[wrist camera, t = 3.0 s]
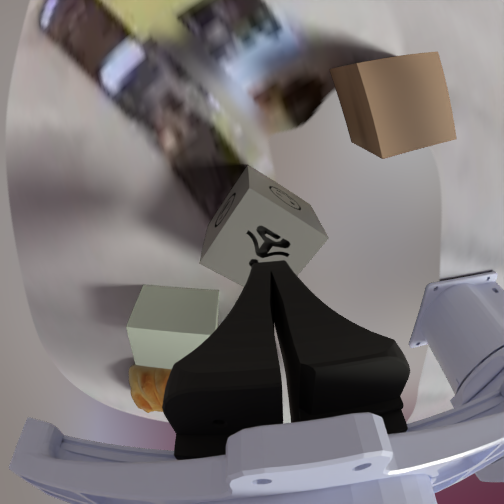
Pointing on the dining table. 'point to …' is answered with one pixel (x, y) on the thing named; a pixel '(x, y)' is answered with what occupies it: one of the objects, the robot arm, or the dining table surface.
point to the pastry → (148, 386)
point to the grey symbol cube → (260, 229)
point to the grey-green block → (170, 323)
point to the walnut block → (395, 103)
